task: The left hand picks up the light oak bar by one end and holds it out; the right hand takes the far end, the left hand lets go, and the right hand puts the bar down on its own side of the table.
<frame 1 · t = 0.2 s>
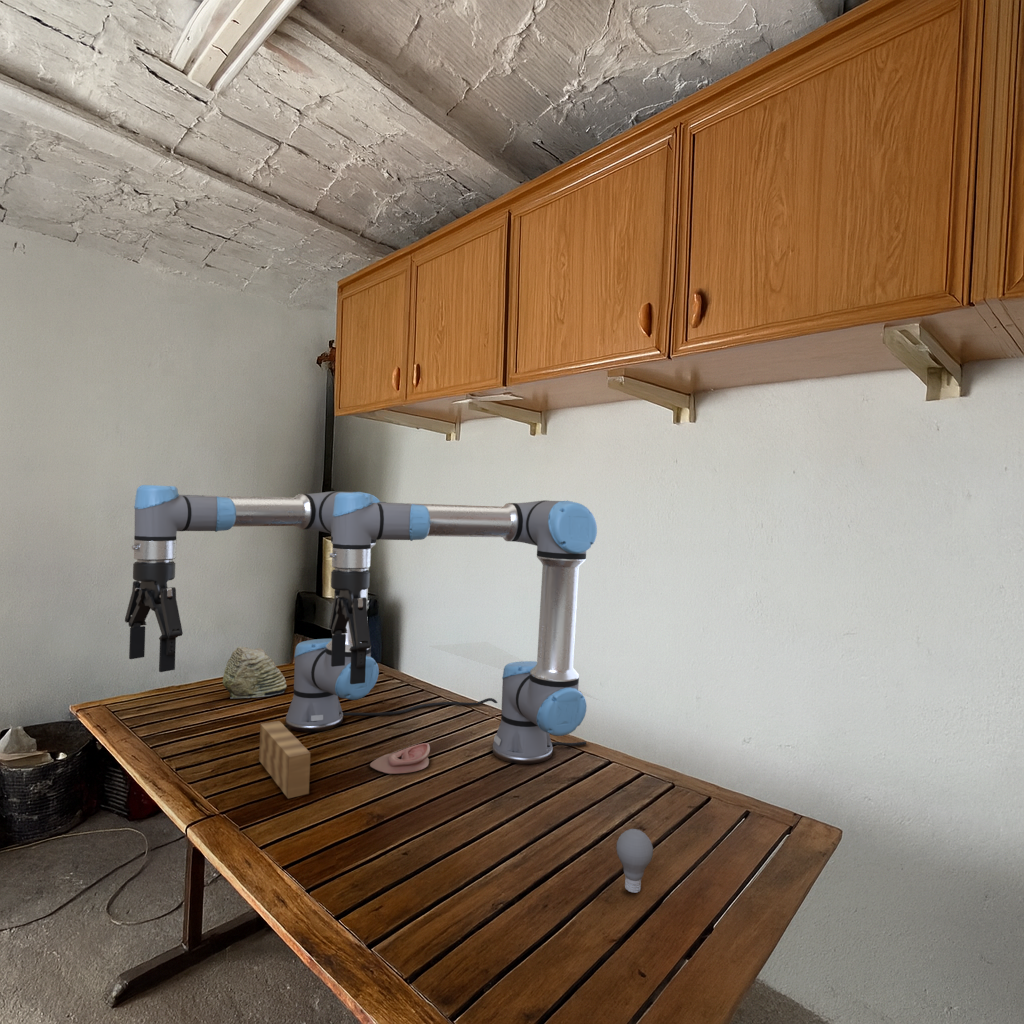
left hand: (151, 664, 130), 28 cm above the table, tool pointing down, fingers open, 13 cm apart
right hand: (347, 674, 128), 28 cm above the table, tool pointing down, fingers open, 13 cm apart
fossil: (254, 694, 198), on the table
light bulb: (632, 891, 106), on the table
anatomical model: (400, 765, 151), on the table
bar: (282, 776, 143), on the table
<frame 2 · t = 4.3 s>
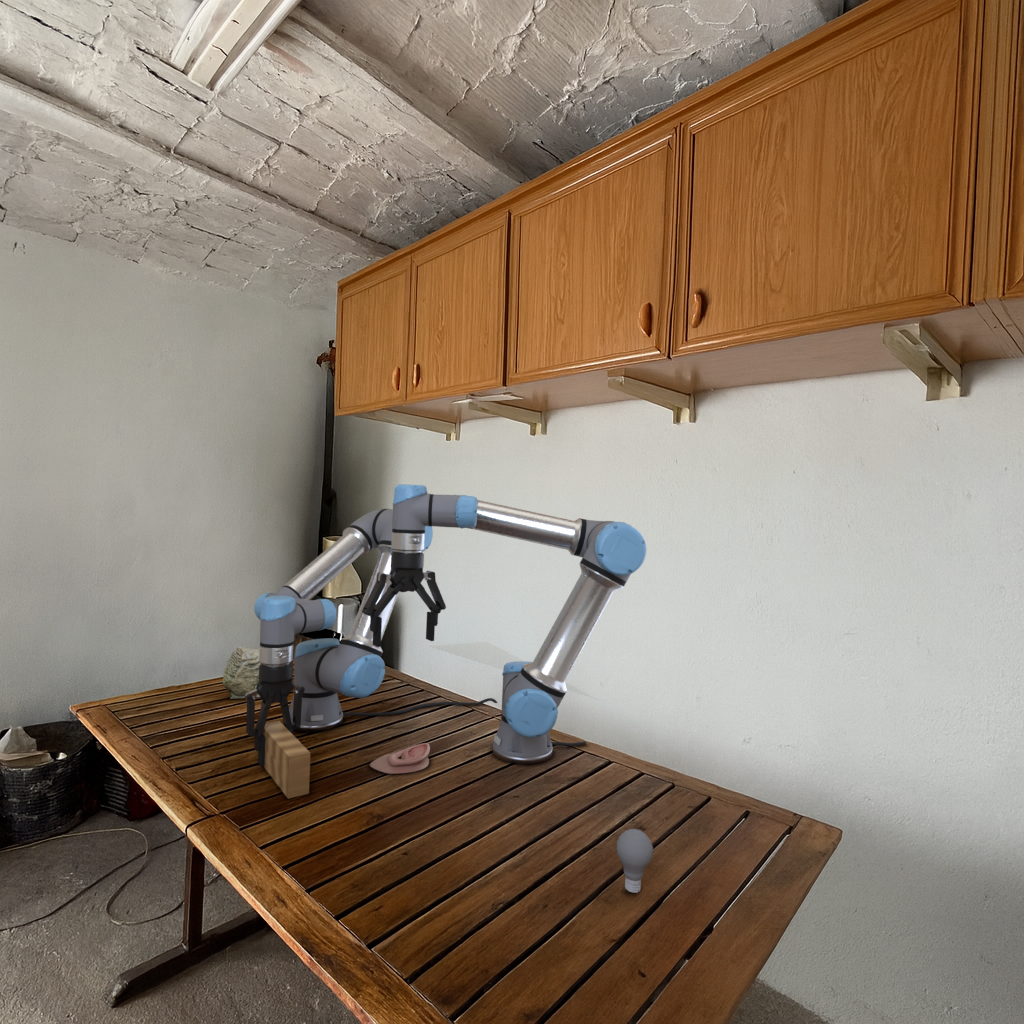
left hand: (272, 761, 149), 1 cm above the table, tool pointing down, fingers closed on bar, 4 cm apart
right hand: (404, 642, 146), 30 cm above the table, tool pointing down, fingers open, 13 cm apart
bar: (282, 776, 143), on the table, touching left hand
everything else where it was.
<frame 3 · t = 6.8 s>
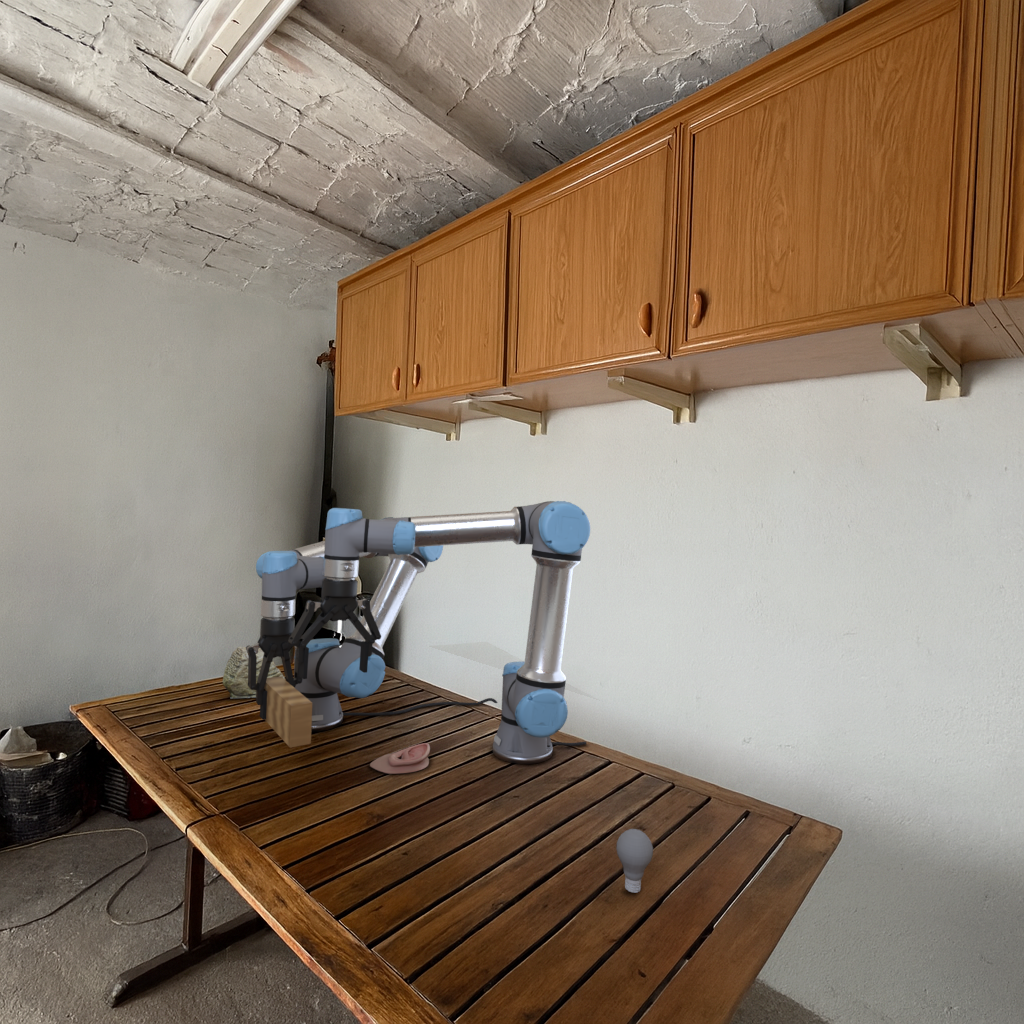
left hand: (274, 715, 149), 11 cm above the table, tool pointing down, fingers closed on bar, 4 cm apart
right hand: (334, 674, 140), 24 cm above the table, tool pointing down, fingers open, 13 cm apart
bar: (284, 728, 142), point 11 cm above the table, touching left hand
everything else where it was.
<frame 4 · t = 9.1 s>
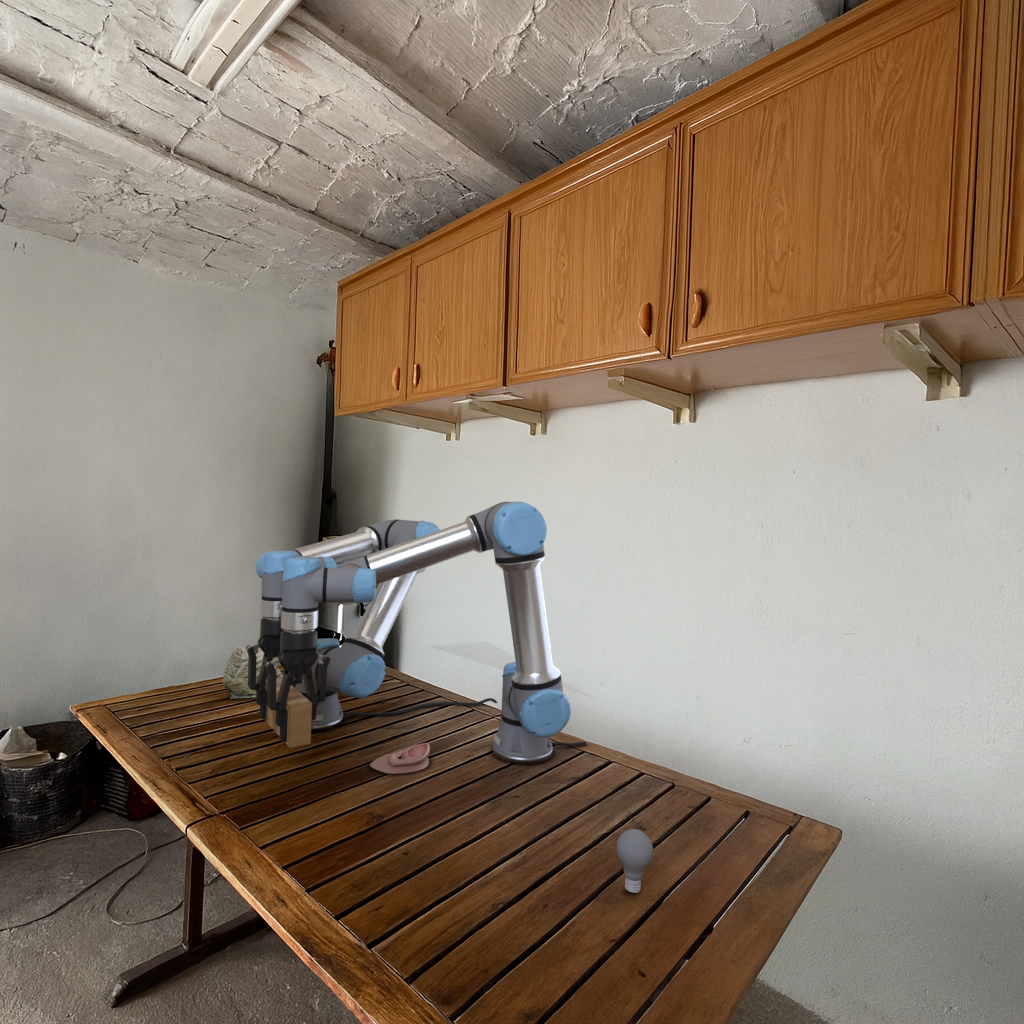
left hand: (274, 715, 149), 11 cm above the table, tool pointing down, fingers closed on bar, 4 cm apart
right hand: (295, 737, 136), 11 cm above the table, tool pointing down, fingers closed on bar, 4 cm apart
bar: (284, 728, 142), point 11 cm above the table, touching left hand, right hand
everything else where it was.
when the left hand's fingers open (11 cm above the table, at t = 9.6 s): bar stays where it is, held by the right hand.
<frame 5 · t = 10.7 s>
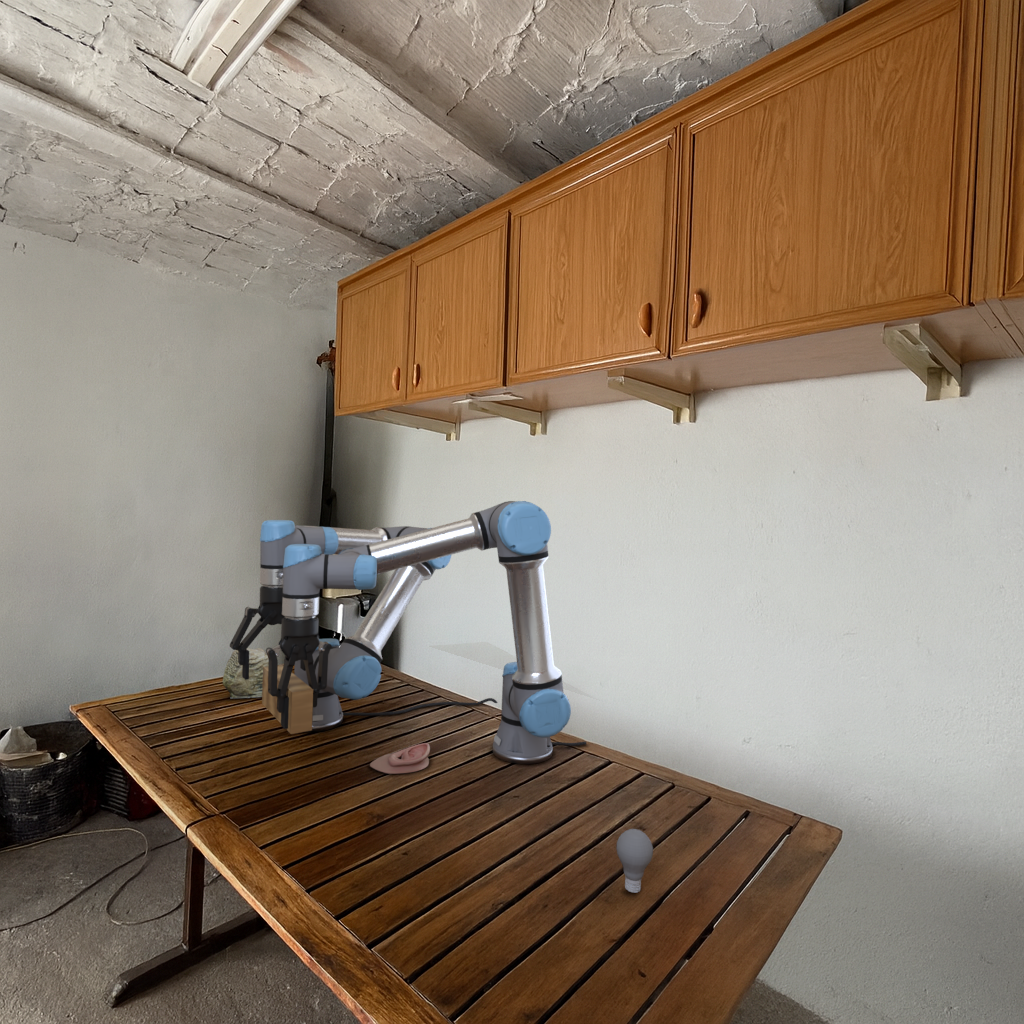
left hand: (275, 673, 151), 21 cm above the table, tool pointing down, fingers open, 13 cm apart
right hand: (296, 724, 136), 14 cm above the table, tool pointing down, fingers closed on bar, 4 cm apart
bar: (285, 716, 142), point 14 cm above the table, touching right hand
everything else where it was.
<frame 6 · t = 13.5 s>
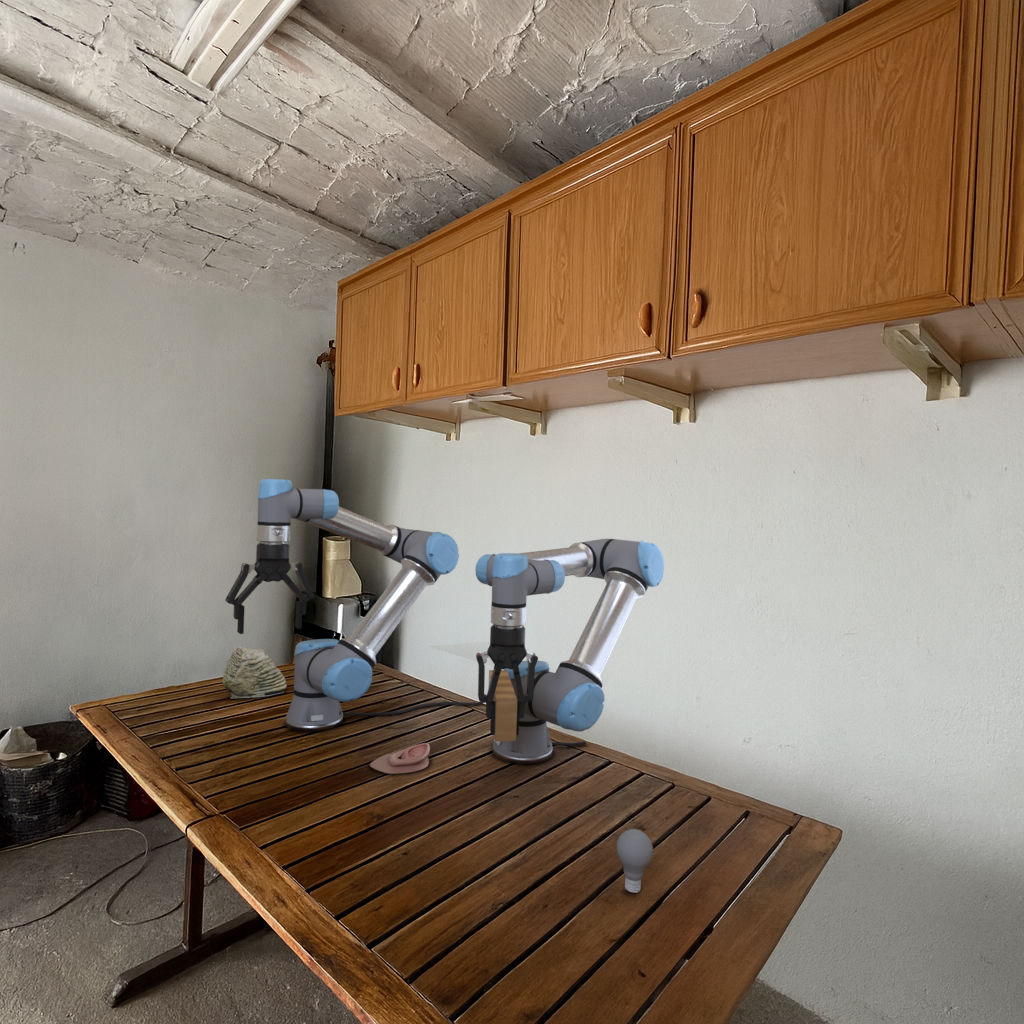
left hand: (270, 630, 153), 30 cm above the table, tool pointing down, fingers open, 13 cm apart
right hand: (504, 732, 137), 14 cm above the table, tool pointing down, fingers closed on bar, 4 cm apart
bar: (500, 721, 145), point 14 cm above the table, touching right hand
everything else where it was.
when the right hand's fingers open (2 cm above the table, at t = 18.2 s): bar drops 1 cm, on the table.
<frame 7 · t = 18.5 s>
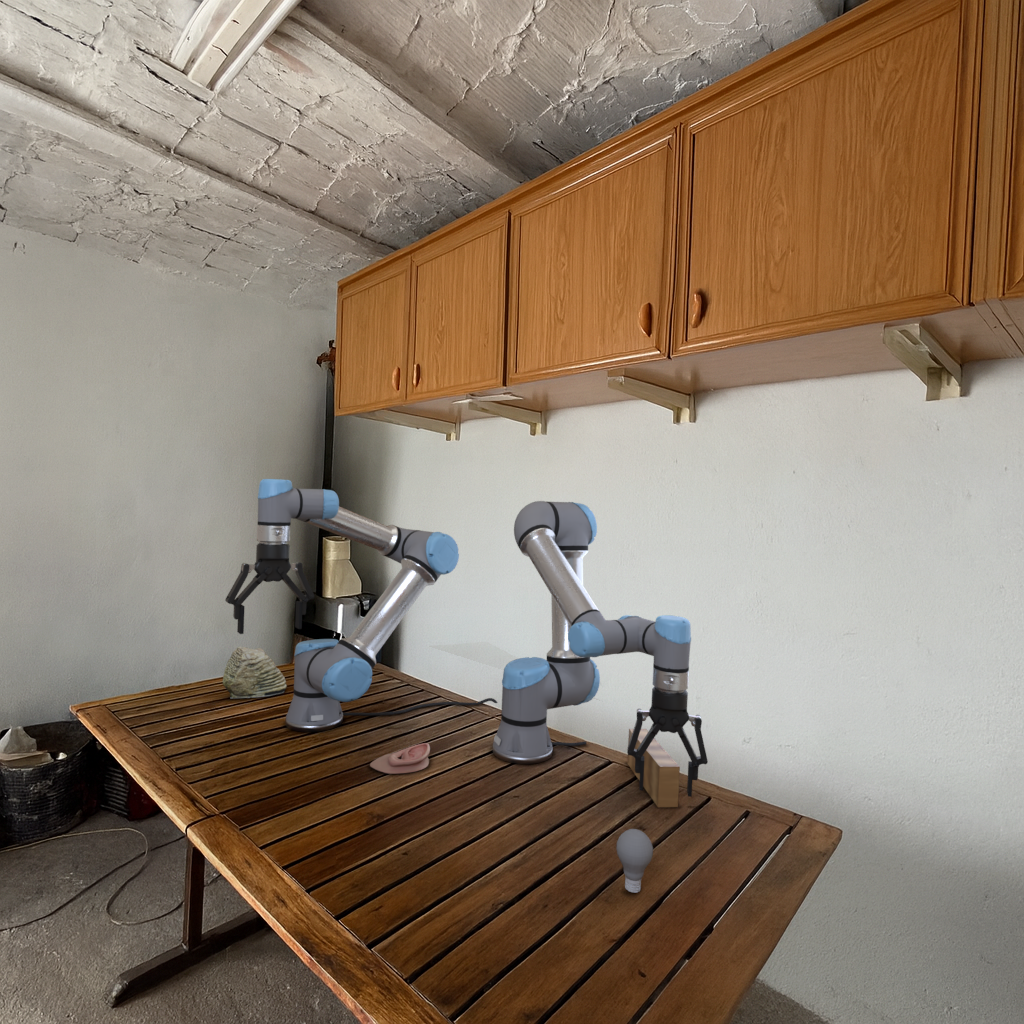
left hand: (270, 630, 153), 30 cm above the table, tool pointing down, fingers open, 13 cm apart
right hand: (665, 790, 138), 3 cm above the table, tool pointing down, fingers open, 9 cm apart
bar: (650, 783, 147), on the table
everything else where it was.
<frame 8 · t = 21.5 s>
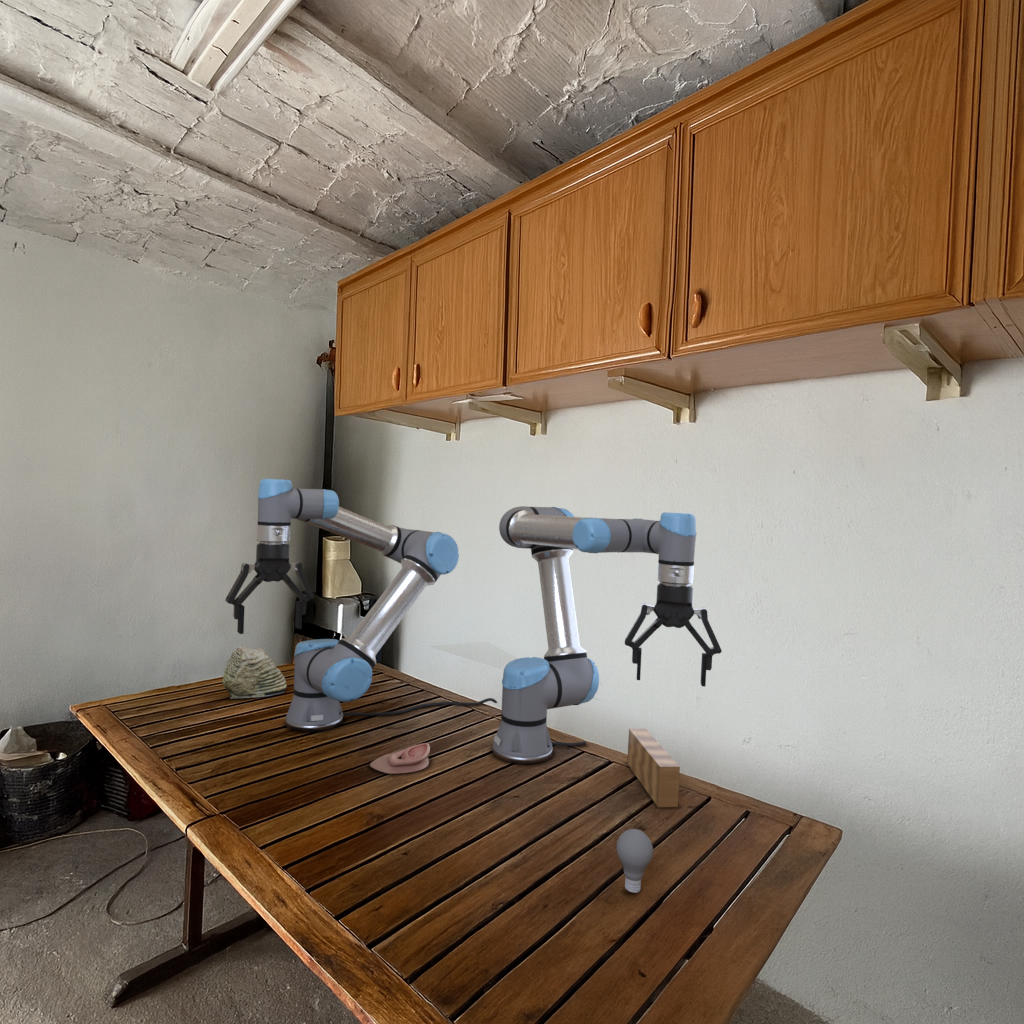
left hand: (270, 630, 153), 30 cm above the table, tool pointing down, fingers open, 13 cm apart
right hand: (670, 681, 137), 27 cm above the table, tool pointing down, fingers open, 13 cm apart
nothing on the table moved.
at the end: bar inside the target area (9.5 cm from its centre), on the table; the left hand is holding nothing; the right hand is holding nothing; bar at rest at the end (0.0 cm/s) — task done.
